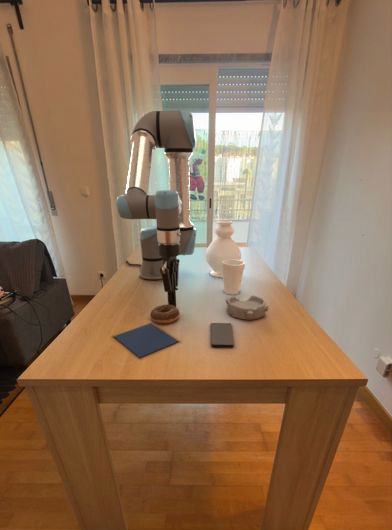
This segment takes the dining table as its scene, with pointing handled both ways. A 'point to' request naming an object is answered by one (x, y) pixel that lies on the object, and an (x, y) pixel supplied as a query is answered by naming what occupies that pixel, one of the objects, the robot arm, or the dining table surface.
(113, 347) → the dining table surface
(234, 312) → the dish
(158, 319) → the donut
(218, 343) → the smartphone
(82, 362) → the dining table surface
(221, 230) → the decorative vase
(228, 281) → the foam cup
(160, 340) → the cloth
